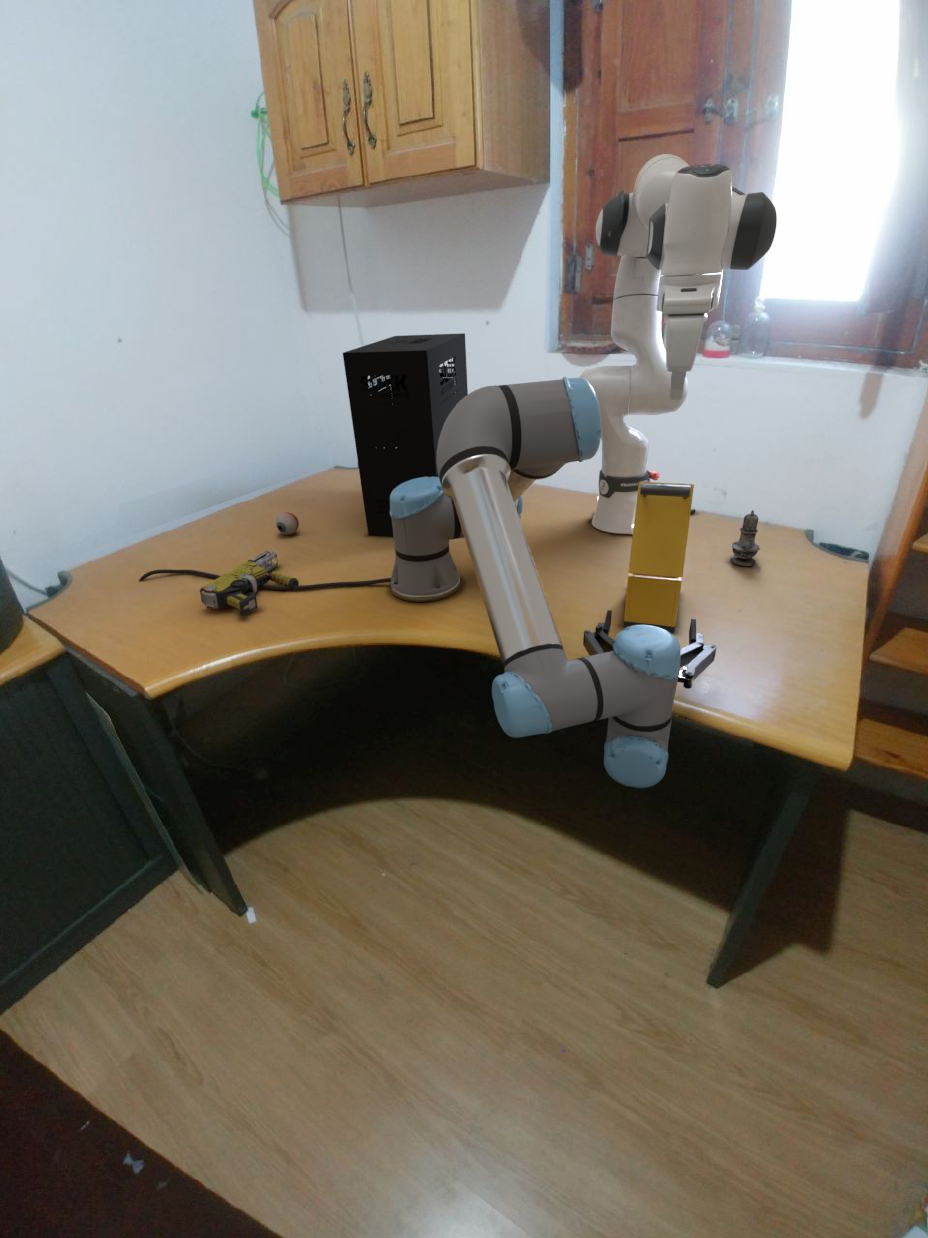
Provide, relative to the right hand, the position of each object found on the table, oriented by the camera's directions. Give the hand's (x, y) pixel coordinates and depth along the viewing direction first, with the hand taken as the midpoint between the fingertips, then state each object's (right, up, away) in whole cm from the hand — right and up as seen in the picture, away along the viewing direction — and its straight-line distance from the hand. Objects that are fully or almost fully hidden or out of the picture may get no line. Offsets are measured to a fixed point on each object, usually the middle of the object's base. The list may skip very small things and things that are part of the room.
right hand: (676, 393), depth 98 cm
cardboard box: (-46, -6, +77) cm, 90 cm away
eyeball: (-82, -13, +68) cm, 107 cm away
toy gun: (-80, -30, +38) cm, 93 cm away
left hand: (-3, -37, +5) cm, 37 cm away
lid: (+1, -21, +10) cm, 23 cm away
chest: (+3, -35, +22) cm, 41 cm away
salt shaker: (+29, -24, +39) cm, 54 cm away
